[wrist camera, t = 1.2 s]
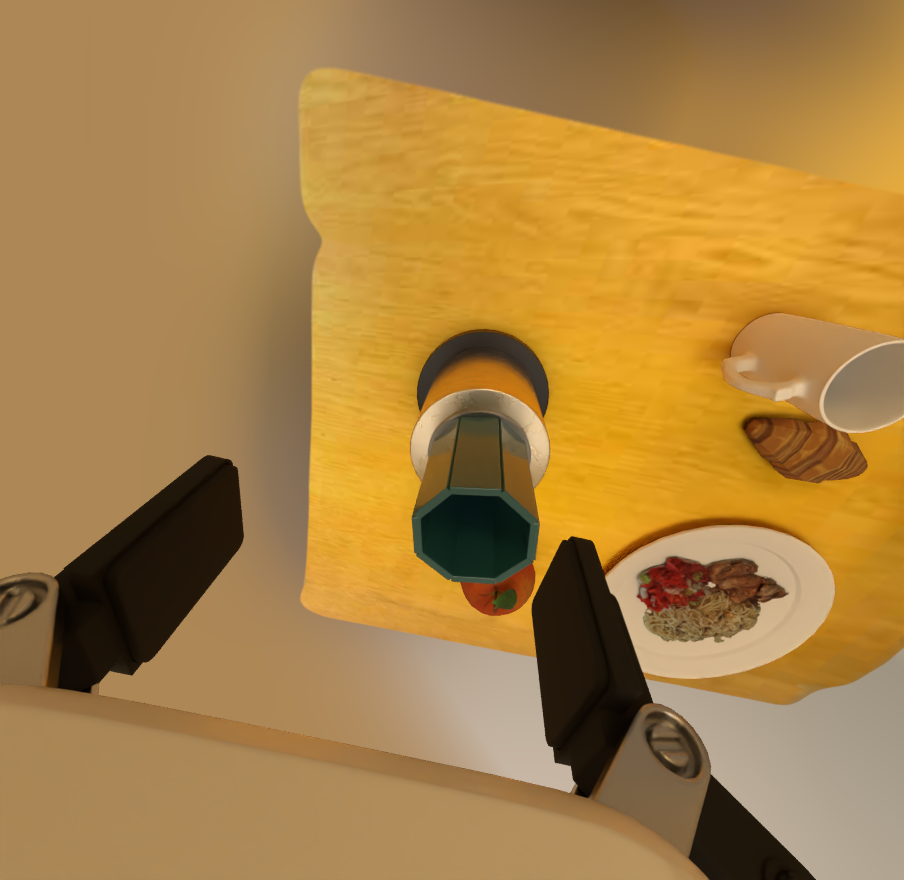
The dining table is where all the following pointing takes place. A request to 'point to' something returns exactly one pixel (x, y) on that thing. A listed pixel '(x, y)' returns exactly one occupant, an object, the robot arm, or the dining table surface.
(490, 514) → the teal cup
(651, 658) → the plated food
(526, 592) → the fruit
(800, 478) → the croissant
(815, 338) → the mug
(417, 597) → the dining table surface
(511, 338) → the towel holder
